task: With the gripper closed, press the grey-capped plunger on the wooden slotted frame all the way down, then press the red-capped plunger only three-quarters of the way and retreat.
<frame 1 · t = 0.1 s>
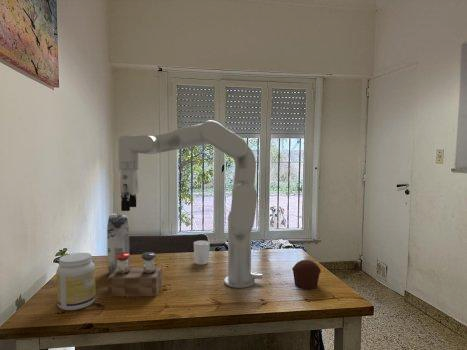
hand: (129, 208, 131), 31 cm above the table, tool pointing down, fingers open, 9 cm apart
juice carton: (119, 274, 144), on the table
wooden slotted frame: (136, 289, 127), on the table
white cup: (201, 262, 160), on the table
muffin: (306, 285, 132), on the table
grey capped peg: (148, 266, 127), point 9 cm above the table, slide at 0.0 cm
red plug: (122, 266, 126), point 9 cm above the table, slide at 0.0 cm
supplement tub: (77, 304, 115), on the table
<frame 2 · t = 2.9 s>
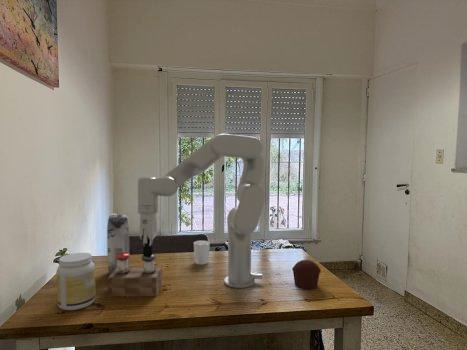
hand: (147, 255, 126), 14 cm above the table, tool pointing down, fingers closed
grey capped peg: (148, 268, 127), point 9 cm above the table, slide at 0.6 cm, touching gripper
everything else where it was.
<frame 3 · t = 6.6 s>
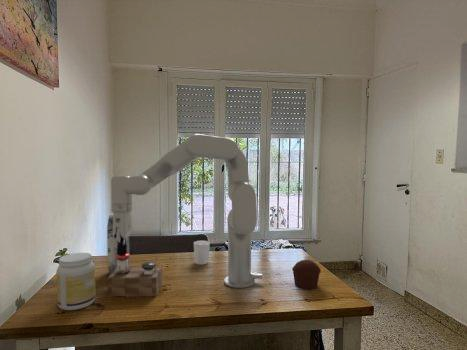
hand: (122, 254, 126), 14 cm above the table, tool pointing down, fingers closed
grey capped peg: (148, 276, 127), point 5 cm above the table, slide at 3.8 cm
red plug: (122, 266, 126), point 9 cm above the table, slide at 0.0 cm, touching gripper
everything else where it was.
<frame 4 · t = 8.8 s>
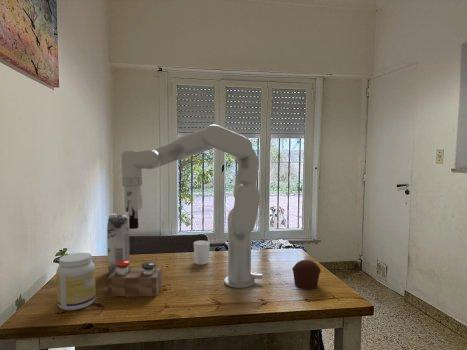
hand: (133, 228, 128), 24 cm above the table, tool pointing down, fingers closed
red plug: (122, 274, 126), point 6 cm above the table, slide at 2.9 cm
everything else where it was.
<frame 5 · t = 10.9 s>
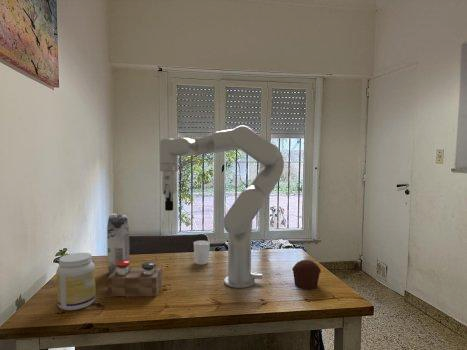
hand: (169, 210, 140), 29 cm above the table, tool pointing down, fingers closed
nothing on the table moved.
at the end: grey capped peg slide at 3.8 cm; red plug slide at 2.9 cm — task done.
